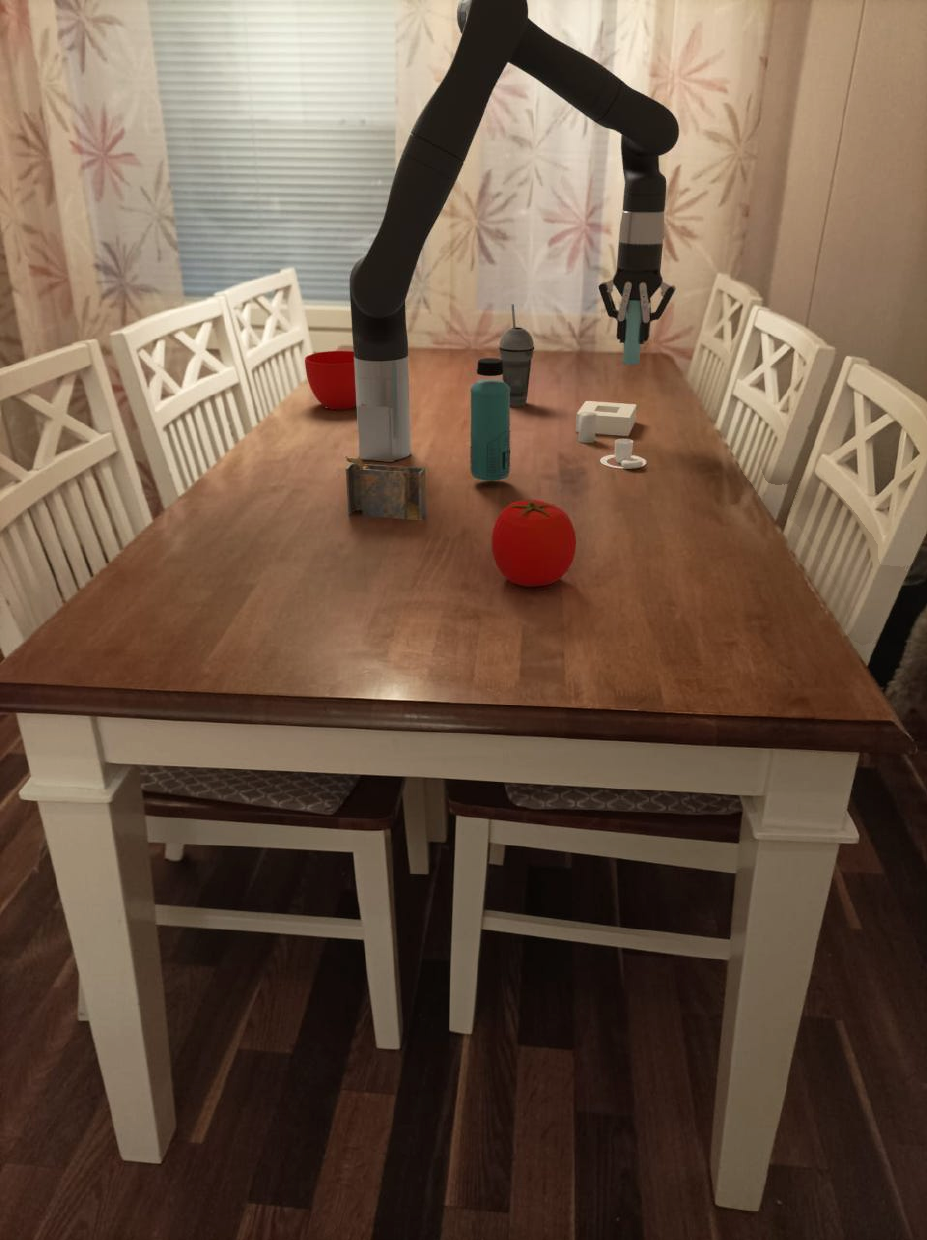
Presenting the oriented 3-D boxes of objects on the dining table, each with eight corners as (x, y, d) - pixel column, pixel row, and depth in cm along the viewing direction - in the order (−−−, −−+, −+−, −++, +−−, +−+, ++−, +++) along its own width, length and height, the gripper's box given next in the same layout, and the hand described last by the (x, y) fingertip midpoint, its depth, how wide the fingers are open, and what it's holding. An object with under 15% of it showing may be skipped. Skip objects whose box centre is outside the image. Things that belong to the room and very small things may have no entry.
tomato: (522, 557, 130) (524, 481, 125) (588, 578, 124) (593, 499, 119) (473, 583, 123) (473, 503, 118) (541, 606, 117) (544, 523, 112)
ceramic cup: (386, 414, 195) (384, 364, 190) (303, 414, 195) (299, 364, 190) (392, 398, 206) (390, 350, 201) (313, 397, 206) (310, 350, 202)
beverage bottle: (506, 491, 153) (508, 364, 144) (465, 488, 155) (465, 362, 145) (512, 478, 159) (515, 355, 150) (473, 475, 160) (473, 353, 151)
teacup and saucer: (645, 474, 162) (647, 450, 160) (597, 471, 163) (599, 448, 162) (647, 458, 170) (649, 436, 168) (601, 455, 171) (603, 433, 169)
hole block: (628, 436, 180) (629, 417, 179) (575, 431, 183) (576, 413, 181) (635, 422, 189) (636, 404, 187) (584, 418, 191) (585, 400, 190)
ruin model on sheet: (347, 518, 144) (343, 456, 140) (353, 511, 147) (350, 449, 142) (421, 524, 142) (419, 460, 138) (425, 516, 145) (424, 454, 140)
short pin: (593, 443, 176) (594, 416, 174) (577, 442, 177) (578, 415, 175) (595, 439, 179) (597, 412, 176) (580, 437, 180) (581, 411, 177)
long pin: (637, 365, 172) (643, 301, 167) (621, 364, 173) (626, 300, 168) (640, 361, 175) (645, 298, 170) (623, 360, 175) (628, 297, 170)
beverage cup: (519, 410, 197) (522, 309, 188) (491, 404, 201) (492, 305, 192) (539, 403, 202) (542, 304, 193) (510, 397, 206) (512, 300, 197)
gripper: (596, 240, 163) (589, 344, 171) (679, 243, 159) (669, 349, 167) (604, 236, 169) (597, 336, 177) (684, 239, 165) (674, 341, 173)
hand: (632, 342), depth 172 cm, fingers closed on long pin, 3 cm apart
